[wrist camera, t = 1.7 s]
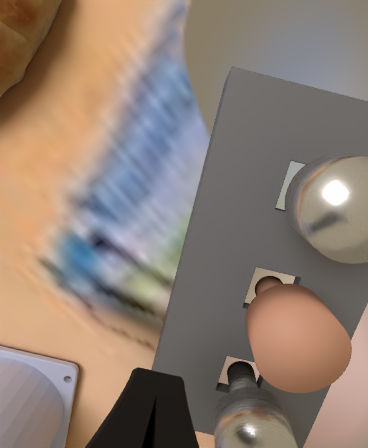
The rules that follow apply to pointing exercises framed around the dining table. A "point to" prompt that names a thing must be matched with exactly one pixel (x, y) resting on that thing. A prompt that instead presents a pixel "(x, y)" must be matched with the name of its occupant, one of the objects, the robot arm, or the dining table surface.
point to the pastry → (22, 35)
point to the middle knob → (295, 337)
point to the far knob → (250, 414)
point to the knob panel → (256, 236)
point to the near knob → (332, 206)
